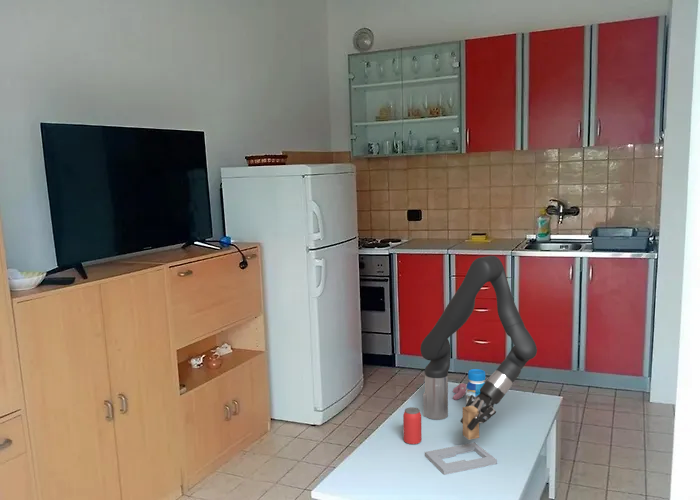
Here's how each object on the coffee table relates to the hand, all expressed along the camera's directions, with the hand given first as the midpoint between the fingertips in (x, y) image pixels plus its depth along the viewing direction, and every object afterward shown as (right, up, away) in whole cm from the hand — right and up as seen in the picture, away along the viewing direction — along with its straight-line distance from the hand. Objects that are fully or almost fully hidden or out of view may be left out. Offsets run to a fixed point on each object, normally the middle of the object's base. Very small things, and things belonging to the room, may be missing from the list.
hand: (465, 426), depth 198 cm
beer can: (-17, -11, +16) cm, 25 cm away
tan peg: (+2, -4, +1) cm, 5 cm away
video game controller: (+9, -5, +59) cm, 60 cm away
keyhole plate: (-2, -12, +1) cm, 12 cm away
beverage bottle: (+11, -8, +33) cm, 36 cm away
